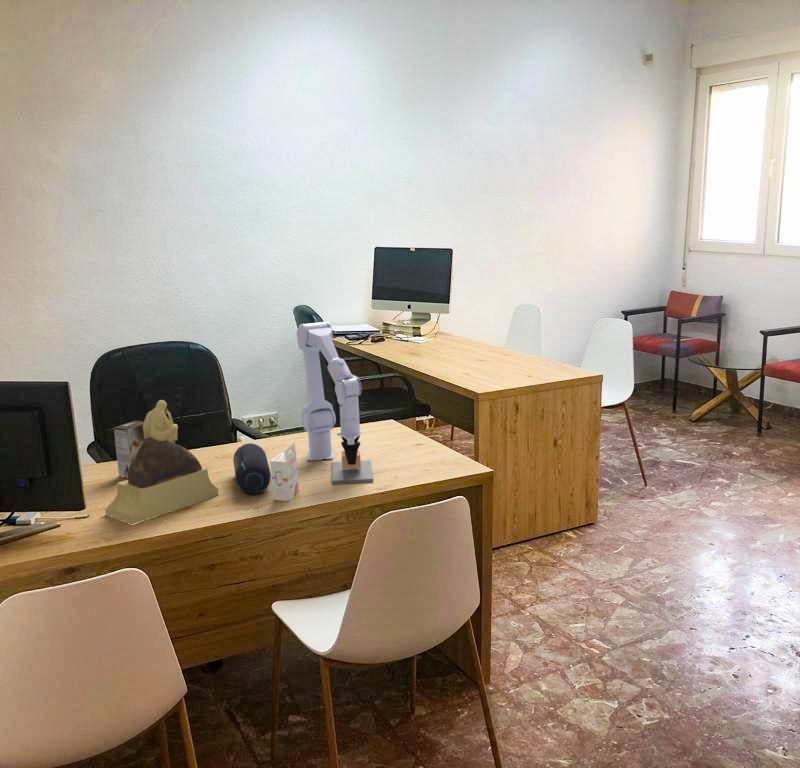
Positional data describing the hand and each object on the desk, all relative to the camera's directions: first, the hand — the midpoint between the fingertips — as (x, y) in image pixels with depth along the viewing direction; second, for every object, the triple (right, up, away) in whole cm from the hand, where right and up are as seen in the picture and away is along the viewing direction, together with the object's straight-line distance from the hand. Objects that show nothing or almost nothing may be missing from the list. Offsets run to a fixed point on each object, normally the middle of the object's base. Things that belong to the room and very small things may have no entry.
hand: (351, 461), depth 252 cm
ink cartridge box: (-18, -9, -17) cm, 26 cm away
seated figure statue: (-51, -11, -20) cm, 56 cm away
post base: (0, -4, +1) cm, 4 cm away
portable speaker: (-29, -6, -5) cm, 30 cm away
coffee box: (-67, -5, +7) cm, 68 cm away
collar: (0, -1, 0) cm, 2 cm away
